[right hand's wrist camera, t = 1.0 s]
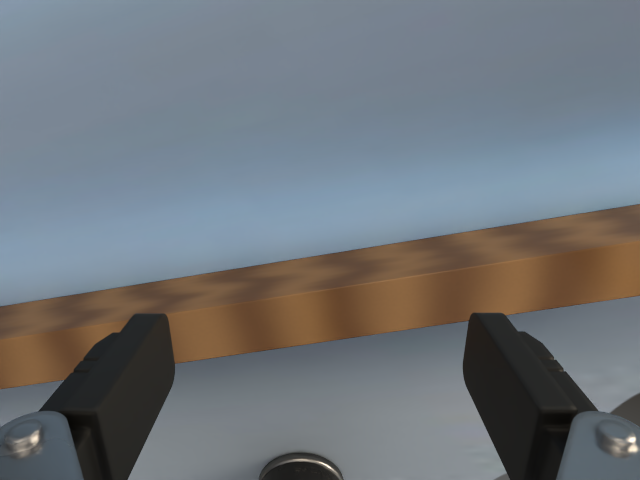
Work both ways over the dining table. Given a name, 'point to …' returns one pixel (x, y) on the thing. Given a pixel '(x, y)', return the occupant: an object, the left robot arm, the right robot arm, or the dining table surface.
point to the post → (340, 294)
